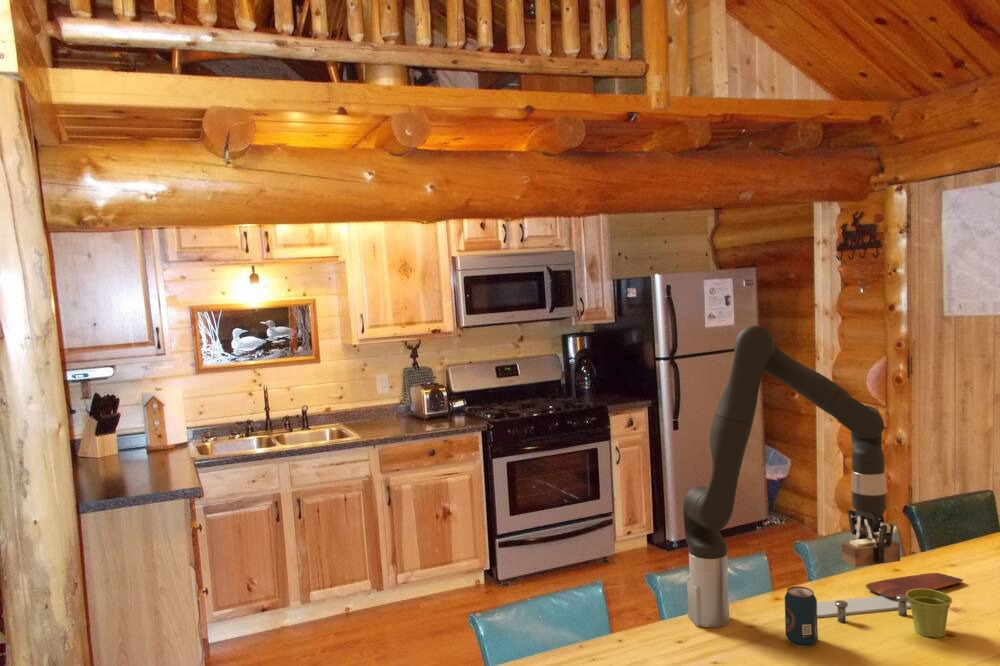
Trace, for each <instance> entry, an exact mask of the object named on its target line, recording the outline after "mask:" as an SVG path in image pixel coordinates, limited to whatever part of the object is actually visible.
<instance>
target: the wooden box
mask: <svg viewBox="0 0 1000 666" xmlns="http://www.w3.org/2000/svg"><path fill="white" fill-rule="evenodd" d="M885 542H886V540H885ZM877 543H879V538H877ZM900 546H901V545H900V542H898V541H895V540H893V539H892V542H891V547H887V548H884V562H883V563H878V564H877V563H875V562H874V546H873V542H872V539H871V538H870V537H868V538H866V539H859V540H858V539H853V540H849V541H842V542H841V561H843V562H845V563H847V564H849V565H850V566H852V567H854V568H860V567H868V566H869V567H870V566H875V565H881V564H882V565H883V564H890V563H895V562H901V549H900V548H901V547H900Z"/></svg>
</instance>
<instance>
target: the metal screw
mask: <svg viewBox="0 0 1000 666" xmlns="http://www.w3.org/2000/svg"><path fill="white" fill-rule="evenodd" d="M837 600H838V601H835V605H836V606H837V609H838V616H837V621H838V622H839V623H841V624H844V623H846V622H847V619H846V618H847V617H846V616H847V615H846V607H848V603H847V602H845V601H840V600H841V599H837Z"/></svg>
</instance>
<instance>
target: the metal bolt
mask: <svg viewBox="0 0 1000 666" xmlns="http://www.w3.org/2000/svg"><path fill="white" fill-rule="evenodd" d="M896 599H897V600H898V609H897V610H898V612H897V613H898V615H899V616H900V617H908V615H907V614H908V613H907V612H908V611H907V609H908V608H907V602H909V599H908V598H907V596H906V595H902V594H898V595H896Z"/></svg>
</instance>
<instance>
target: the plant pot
mask: <svg viewBox="0 0 1000 666" xmlns="http://www.w3.org/2000/svg"><path fill="white" fill-rule="evenodd" d="M906 596H907V598H908V599H909V601H908V603H910V605H911V608H910V609H911V615H912V621H913V626H914V627H913V628H914V630H915V633H916V634H919V635H921V636H923V637H927V638H928V637H933V638H935V639H936V638H939V639H940V638H942V637H944V636H945V635H946V628H947V622H948V613H949V609H950V607H951V604H952V603H953V597H952V596H950V595H949V594H947V593H945V592H942V591H939V590H937V589H934V590H931V589H912V590H909V591H907V592H906Z"/></svg>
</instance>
